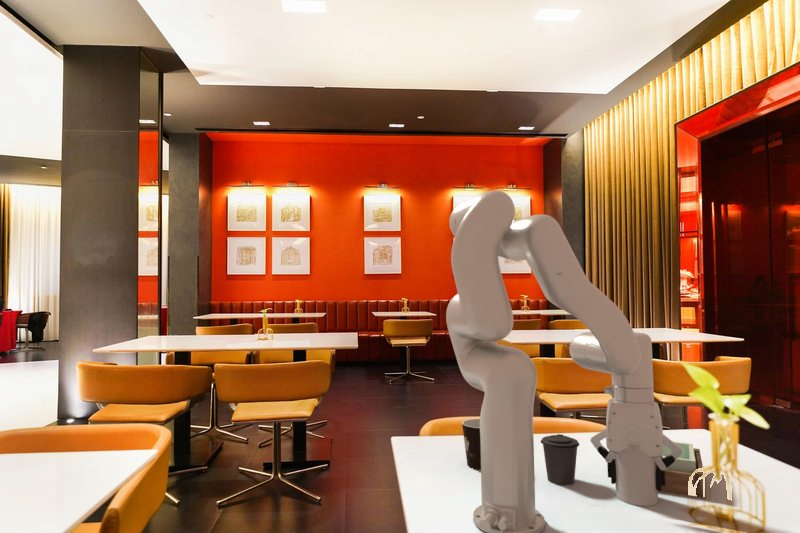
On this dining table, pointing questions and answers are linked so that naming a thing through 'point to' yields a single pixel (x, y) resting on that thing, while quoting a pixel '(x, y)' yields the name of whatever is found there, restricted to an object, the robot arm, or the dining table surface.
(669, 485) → the walnut crate
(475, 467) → the coffee mug
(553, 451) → the coffee cup
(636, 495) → the can
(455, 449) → the dining table surface
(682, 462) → the sage crate
